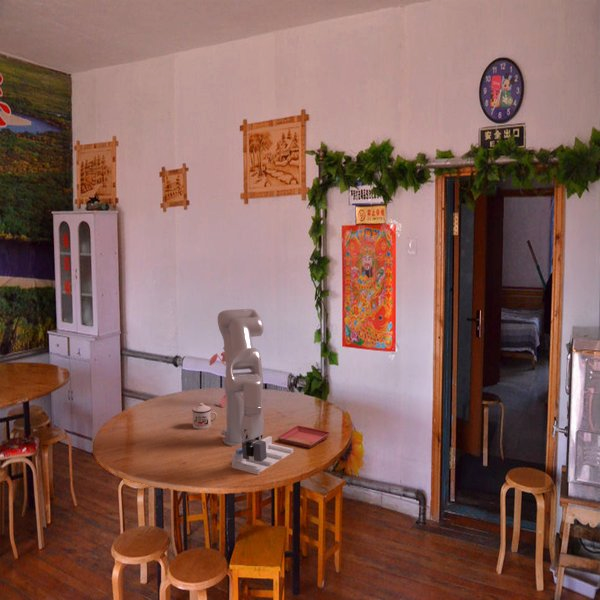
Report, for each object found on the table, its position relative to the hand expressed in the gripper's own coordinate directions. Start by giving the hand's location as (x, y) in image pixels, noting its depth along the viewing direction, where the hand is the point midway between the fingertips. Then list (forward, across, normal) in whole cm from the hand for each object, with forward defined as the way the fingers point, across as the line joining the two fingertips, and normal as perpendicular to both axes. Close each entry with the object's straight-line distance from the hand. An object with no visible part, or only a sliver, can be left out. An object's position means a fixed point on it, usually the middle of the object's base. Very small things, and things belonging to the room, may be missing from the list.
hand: (253, 453), depth 240 cm
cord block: (+2, 0, 0) cm, 2 cm away
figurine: (+5, -58, -55) cm, 80 cm away
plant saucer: (+6, -36, +2) cm, 37 cm away
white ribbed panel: (+6, -8, -1) cm, 10 cm away
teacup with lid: (+5, -28, -49) cm, 57 cm away
